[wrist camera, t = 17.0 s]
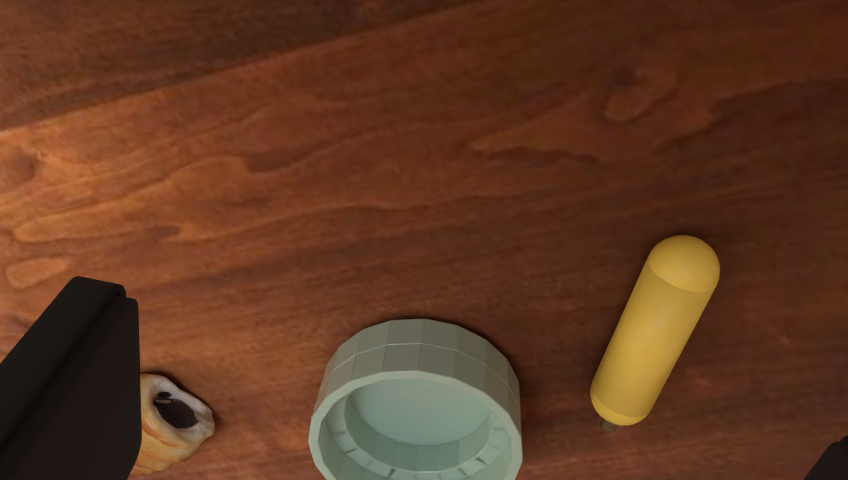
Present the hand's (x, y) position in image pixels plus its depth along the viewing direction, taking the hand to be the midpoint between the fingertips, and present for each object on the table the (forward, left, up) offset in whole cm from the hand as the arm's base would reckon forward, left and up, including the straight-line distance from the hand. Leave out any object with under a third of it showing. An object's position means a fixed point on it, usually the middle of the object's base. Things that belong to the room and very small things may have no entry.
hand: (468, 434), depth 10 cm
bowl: (+25, +2, -26) cm, 36 cm away
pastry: (+32, -15, -26) cm, 44 cm away
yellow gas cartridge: (+16, +11, -25) cm, 32 cm away
